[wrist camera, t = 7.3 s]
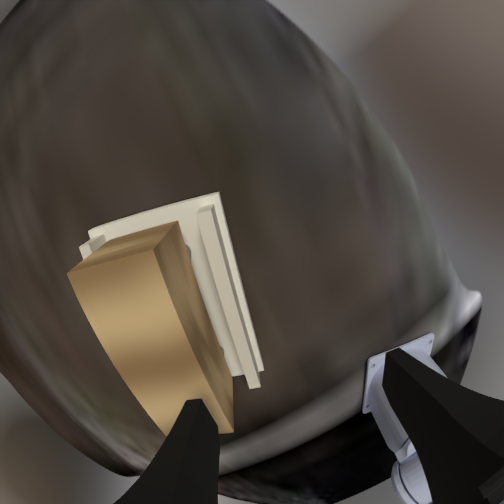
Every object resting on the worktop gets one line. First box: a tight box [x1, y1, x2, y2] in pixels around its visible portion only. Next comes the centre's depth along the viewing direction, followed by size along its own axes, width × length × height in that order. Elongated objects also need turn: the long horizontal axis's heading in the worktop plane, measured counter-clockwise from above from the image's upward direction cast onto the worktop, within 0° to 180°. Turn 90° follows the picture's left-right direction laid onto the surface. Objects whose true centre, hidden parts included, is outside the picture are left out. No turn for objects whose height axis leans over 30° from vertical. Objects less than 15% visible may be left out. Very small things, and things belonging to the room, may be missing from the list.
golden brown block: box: [67, 220, 234, 436], centre depth 14 cm, size 12×4×5 cm, turn 13°
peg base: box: [79, 192, 264, 389], centre depth 17 cm, size 14×9×3 cm, turn 12°
